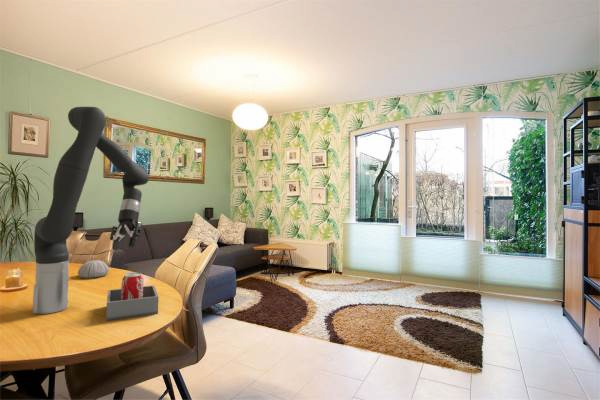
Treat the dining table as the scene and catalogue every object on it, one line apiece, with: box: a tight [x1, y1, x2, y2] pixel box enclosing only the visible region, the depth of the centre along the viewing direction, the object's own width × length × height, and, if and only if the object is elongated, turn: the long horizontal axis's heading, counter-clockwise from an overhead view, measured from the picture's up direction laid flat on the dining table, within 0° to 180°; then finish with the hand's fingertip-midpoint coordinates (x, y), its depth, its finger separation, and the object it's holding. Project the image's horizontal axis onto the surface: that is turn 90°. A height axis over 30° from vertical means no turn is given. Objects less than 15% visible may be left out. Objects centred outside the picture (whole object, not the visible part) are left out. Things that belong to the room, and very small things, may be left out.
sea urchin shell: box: [77, 259, 110, 279], centre depth 158 cm, size 13×14×8 cm
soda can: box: [120, 272, 144, 300], centre depth 114 cm, size 7×7×12 cm
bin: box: [105, 285, 159, 322], centre depth 114 cm, size 16×16×6 cm
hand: (123, 248), depth 128 cm, fingers open, 8 cm apart
